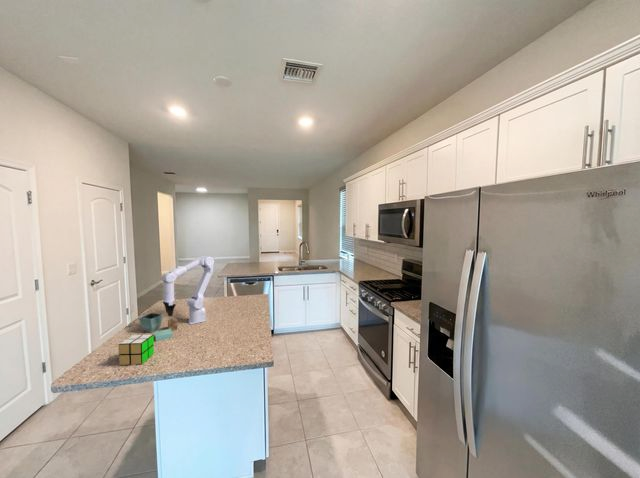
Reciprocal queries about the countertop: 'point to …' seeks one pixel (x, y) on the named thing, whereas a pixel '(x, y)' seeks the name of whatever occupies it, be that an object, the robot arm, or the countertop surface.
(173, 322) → the walnut block
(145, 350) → the puzzle cube
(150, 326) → the flower pot
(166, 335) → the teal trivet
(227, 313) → the countertop surface
